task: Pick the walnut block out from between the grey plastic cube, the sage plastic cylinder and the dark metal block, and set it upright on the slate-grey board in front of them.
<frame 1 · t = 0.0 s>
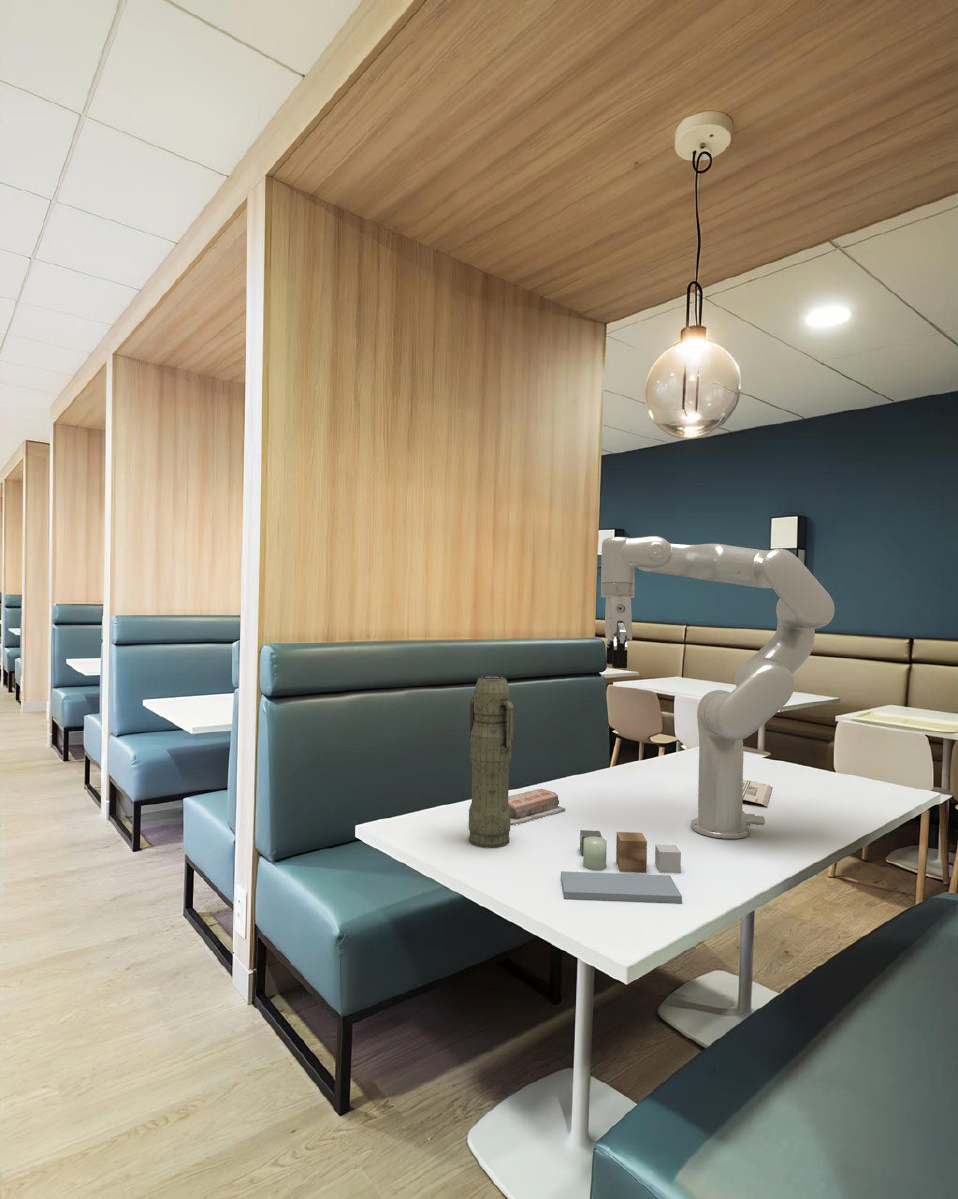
hand: (616, 666, 157), 37 cm above the table, tool pointing down, fingers open, 9 cm apart
newspaper: (745, 797, 186), on the table
slate board: (618, 890, 123), on the table
dark metal block: (590, 853, 141), on the table
packaged product: (525, 816, 166), on the table
walnut block: (631, 867, 133), on the table
thermos: (489, 841, 147), on the table
grey plastic cube: (667, 869, 133), on the table
sage plastic cylinder: (594, 866, 134), on the table
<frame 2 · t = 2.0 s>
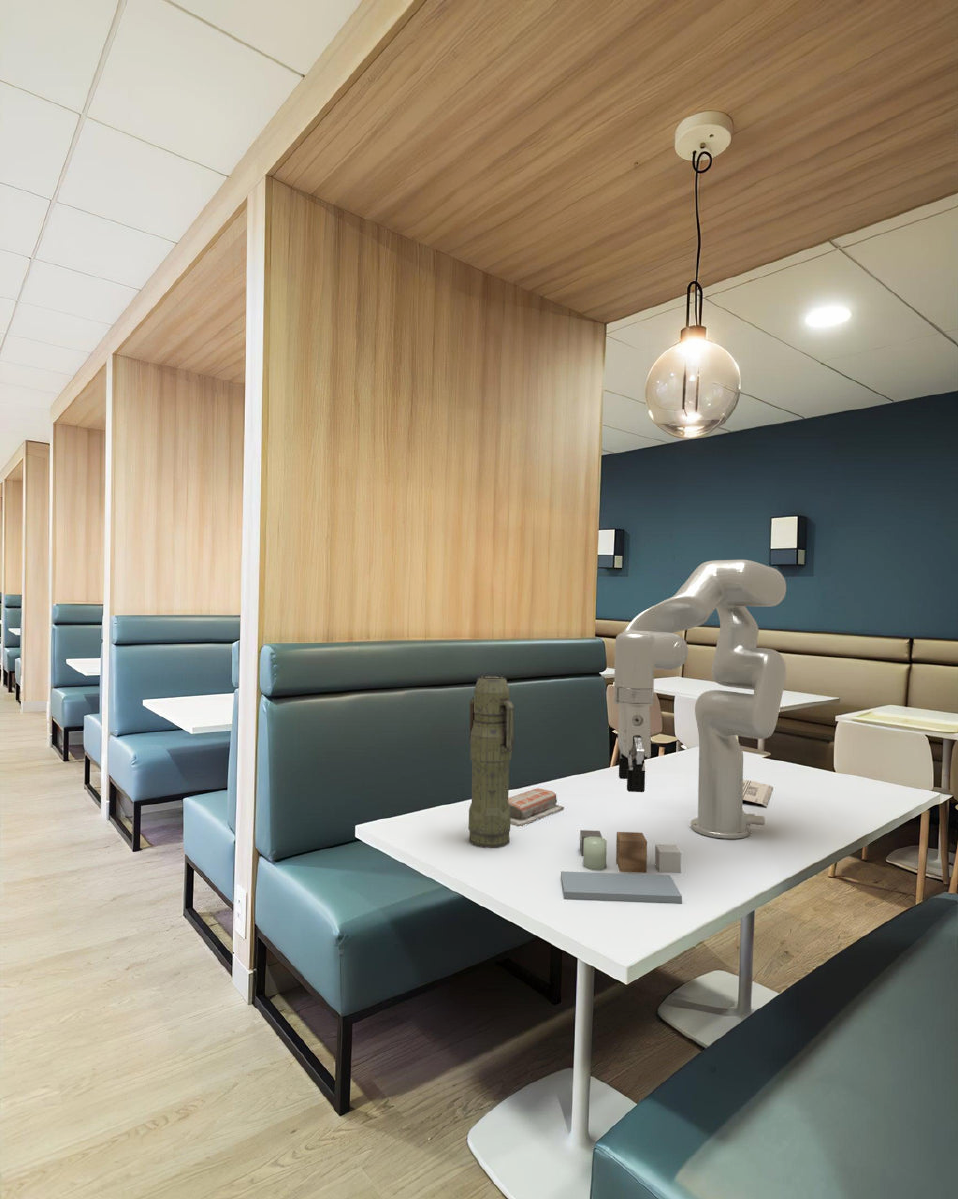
hand: (631, 785, 133), 16 cm above the table, tool pointing down, fingers open, 9 cm apart
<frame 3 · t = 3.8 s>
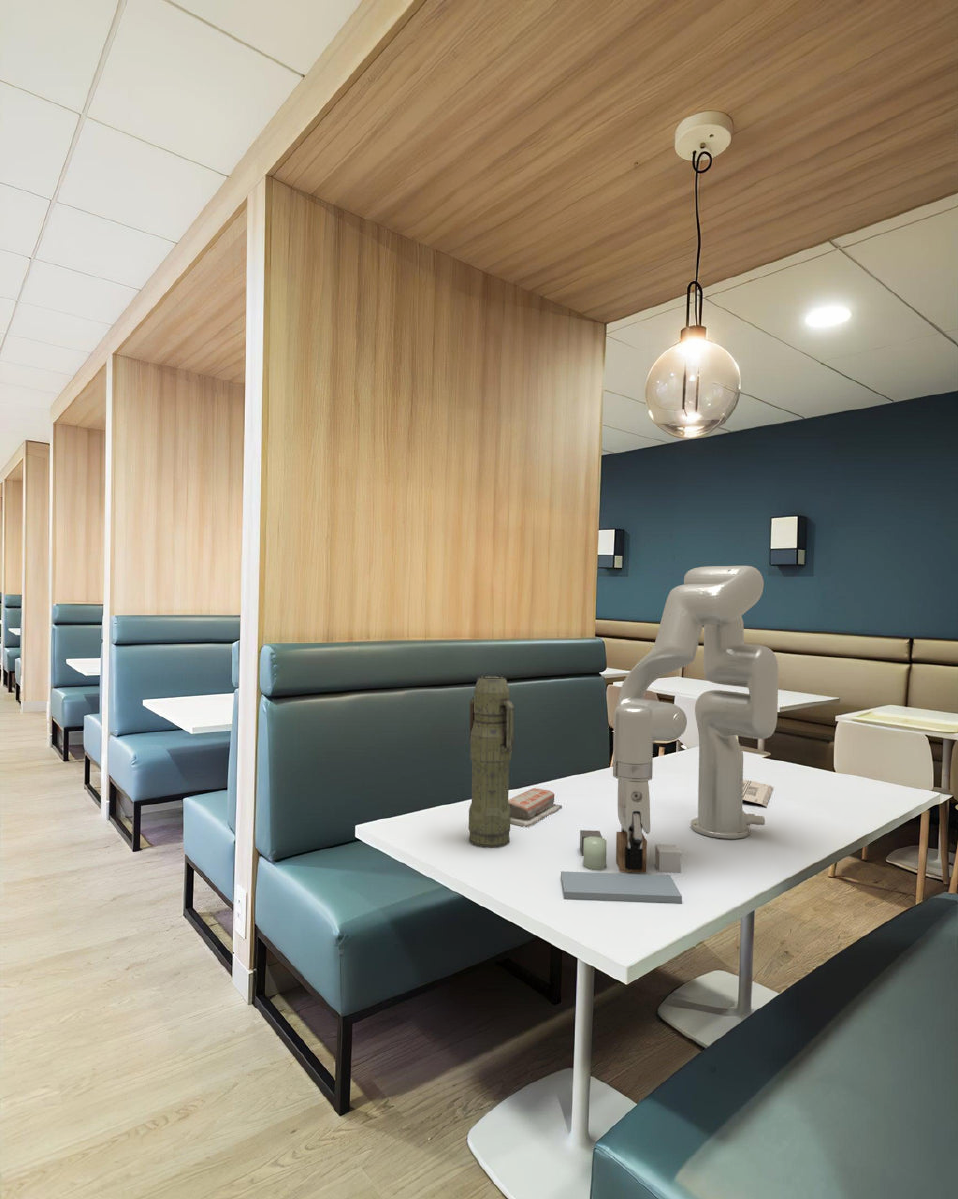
hand: (631, 862, 133), 1 cm above the table, tool pointing down, fingers closed on walnut block, 5 cm apart
walnut block: (630, 867, 133), on the table, touching gripper
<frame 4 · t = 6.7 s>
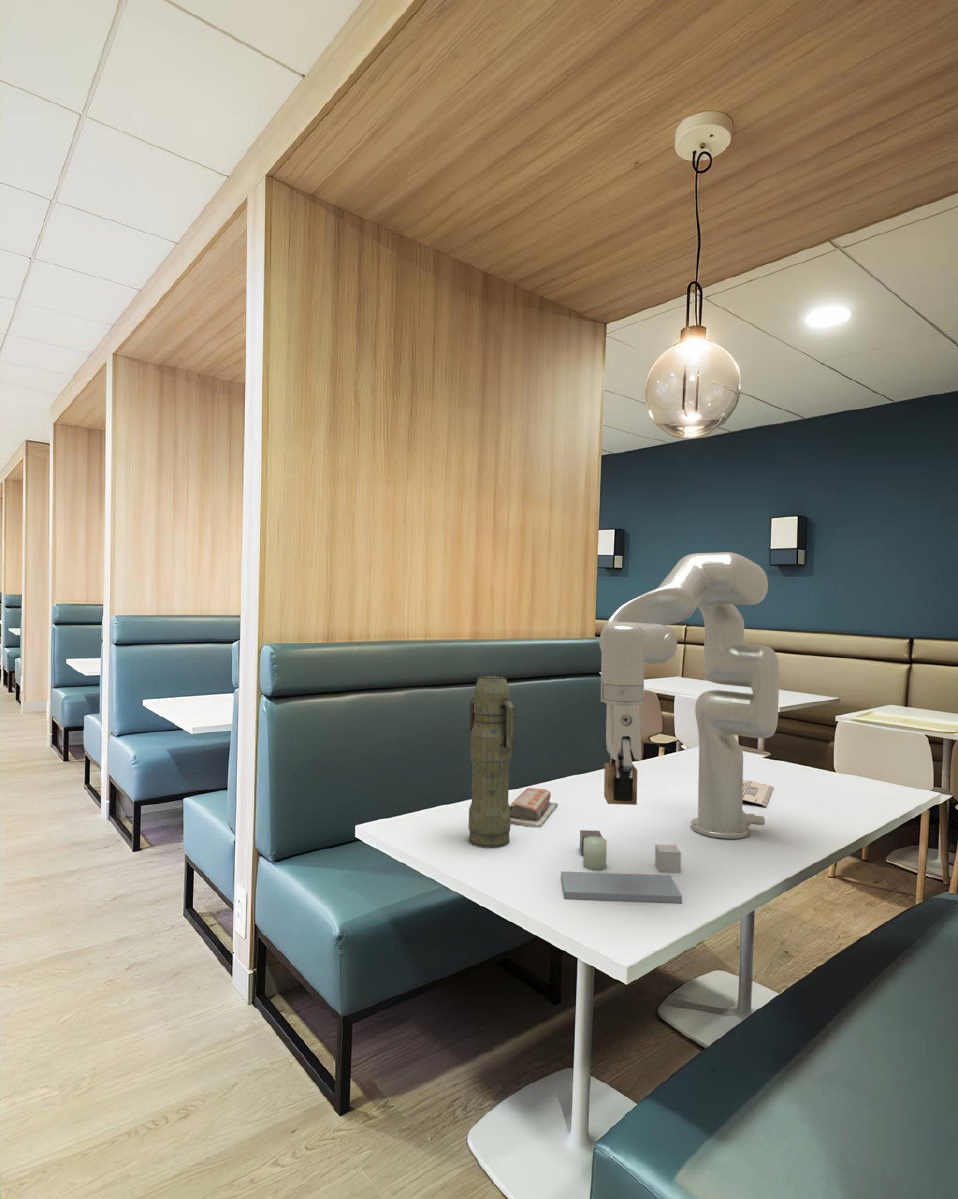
hand: (620, 794, 123), 17 cm above the table, tool pointing down, fingers closed on walnut block, 5 cm apart
walnut block: (620, 800, 123), point 16 cm above the table, touching gripper
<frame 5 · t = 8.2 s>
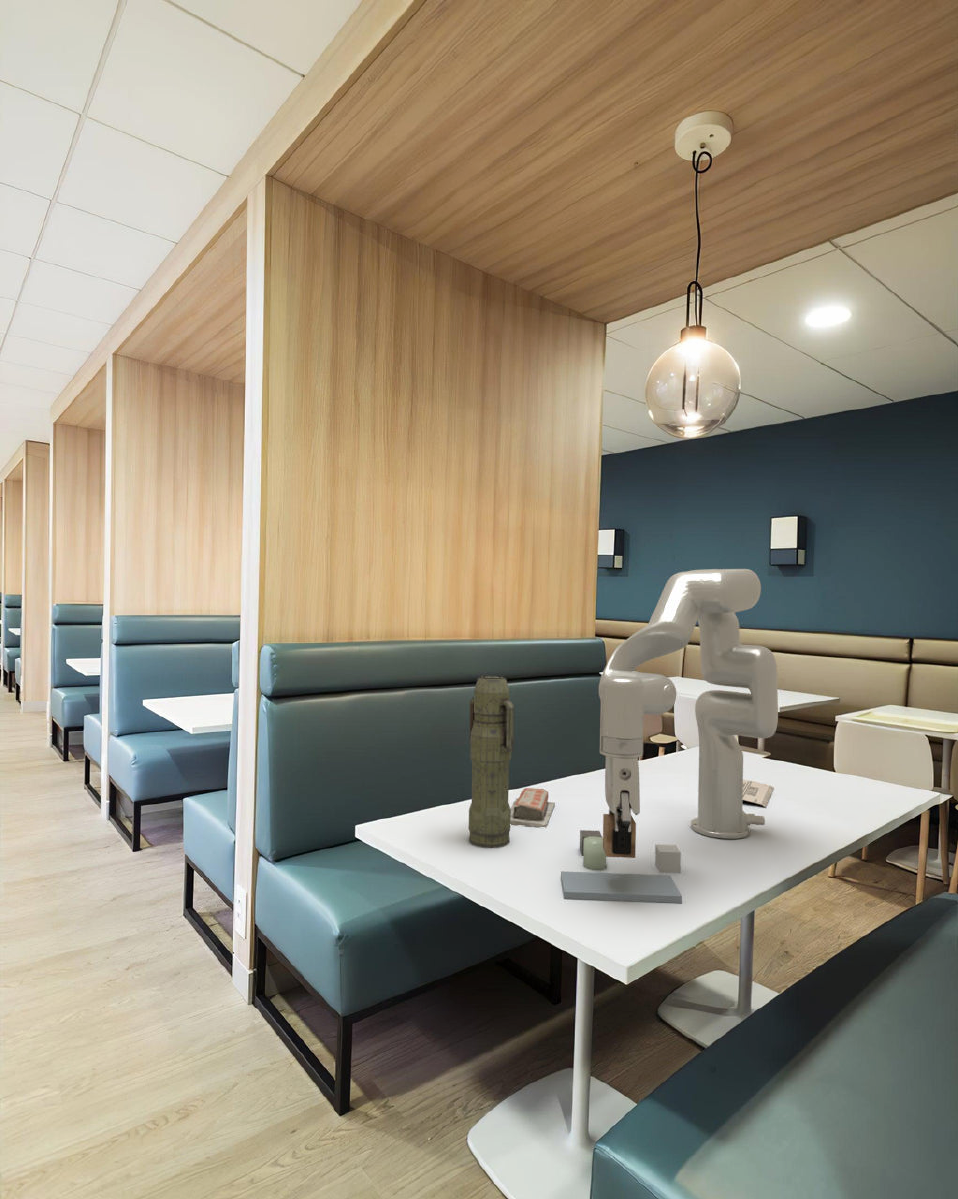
hand: (619, 847, 122), 8 cm above the table, tool pointing down, fingers closed on walnut block, 5 cm apart
walnut block: (618, 852, 122), point 7 cm above the table, touching gripper
when the fingers open (3 cm above the table, at t = 9.5 s): walnut block drops 1 cm, resting on slate board.
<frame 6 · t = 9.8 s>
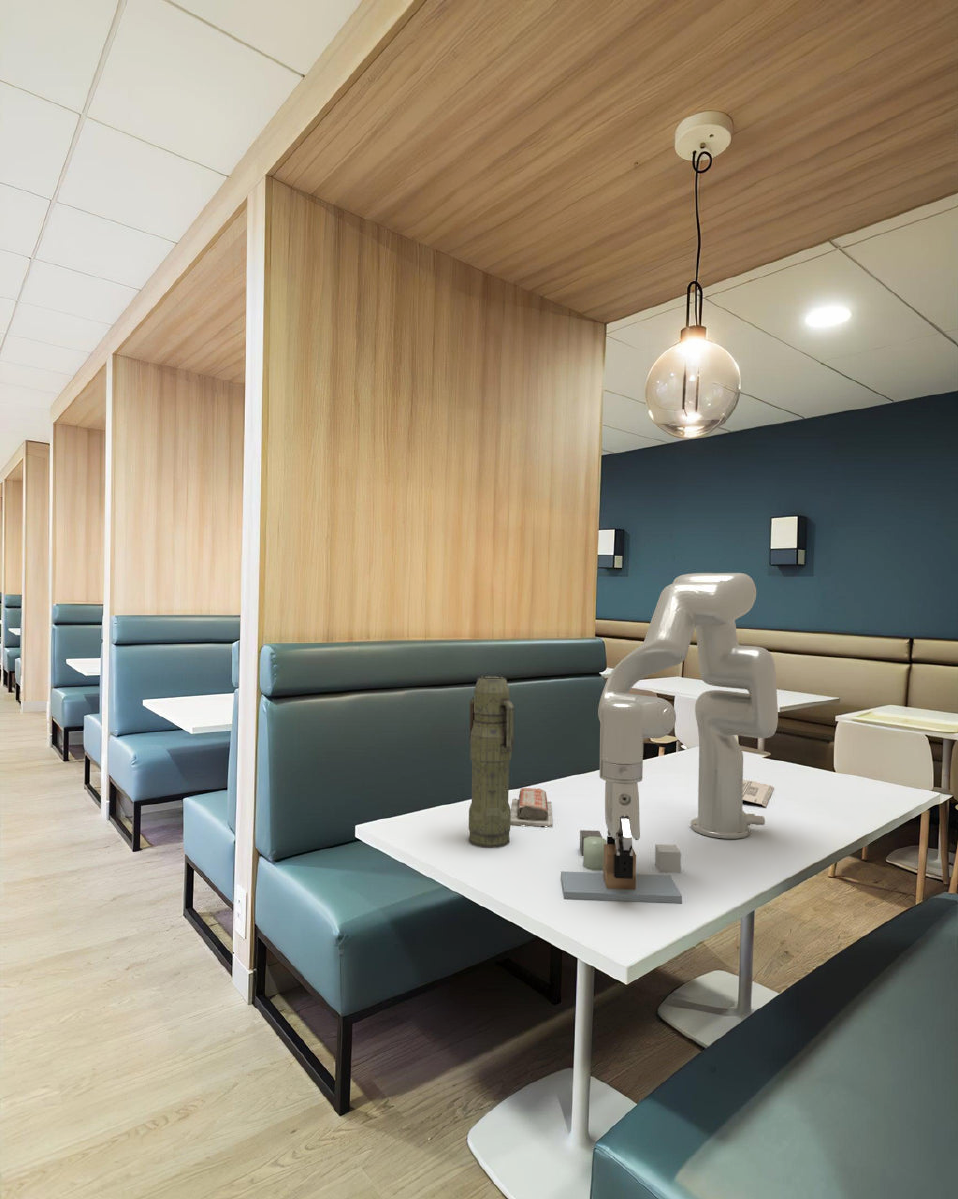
hand: (619, 867, 123), 4 cm above the table, tool pointing down, fingers open, 8 cm apart
walnut block: (619, 883, 123), point 1 cm above the table, touching slate board
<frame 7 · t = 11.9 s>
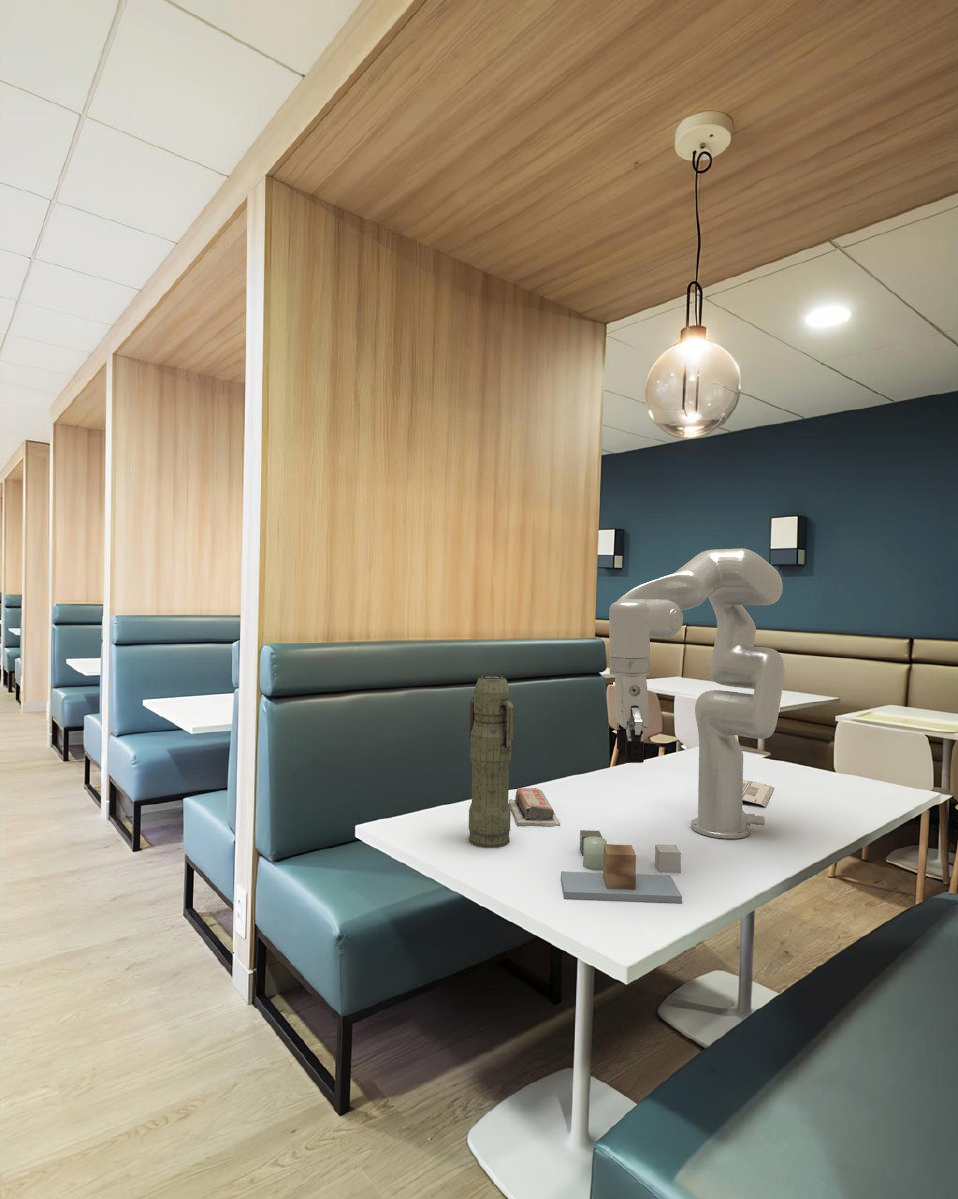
hand: (629, 755, 131), 22 cm above the table, tool pointing down, fingers open, 9 cm apart
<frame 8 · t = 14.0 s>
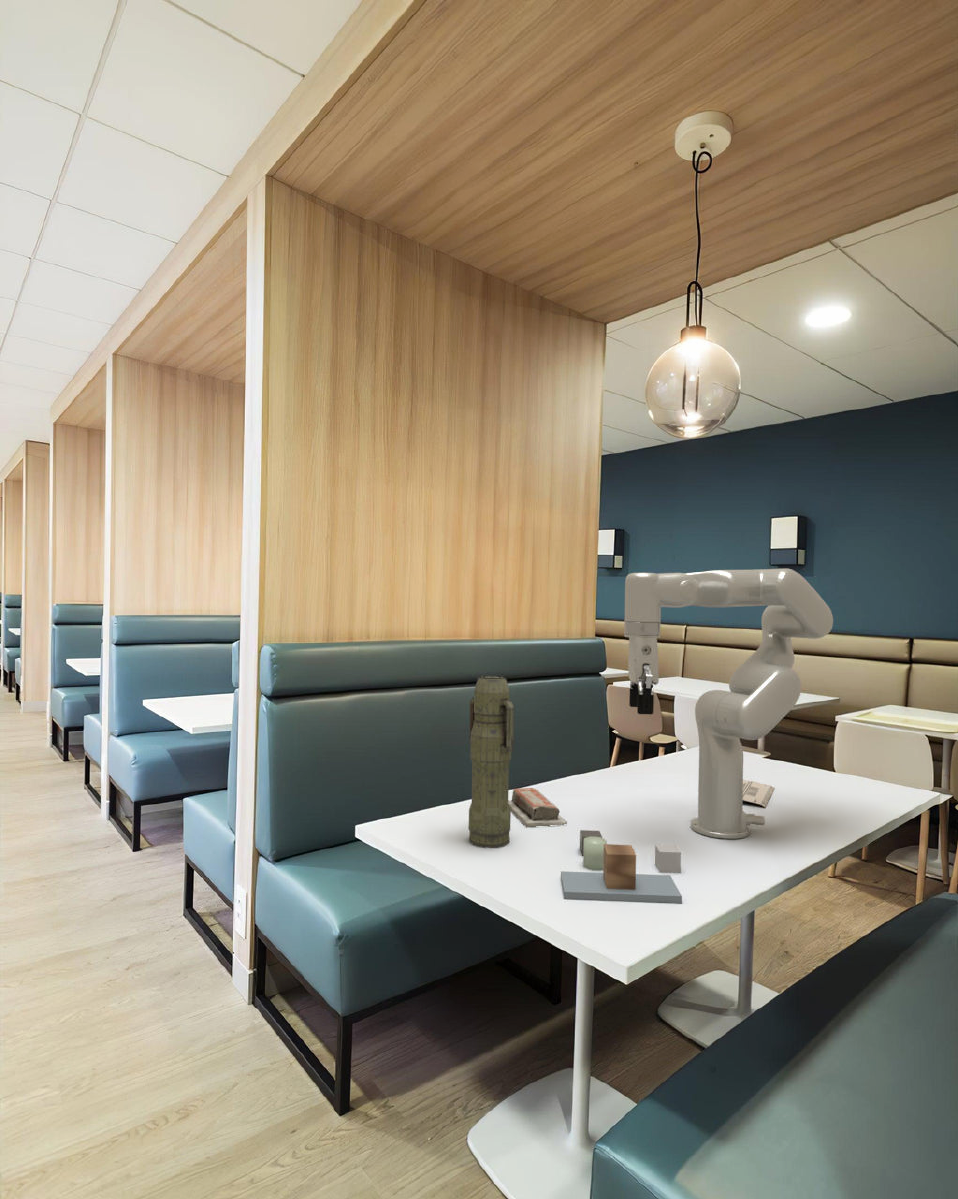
hand: (640, 710, 147), 28 cm above the table, tool pointing down, fingers open, 9 cm apart
at the end: walnut block inside the target area on the slate board (0.0 cm from its centre), point 1.2 cm above the slate board's base; walnut block tilted 0°; the gripper is holding nothing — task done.
